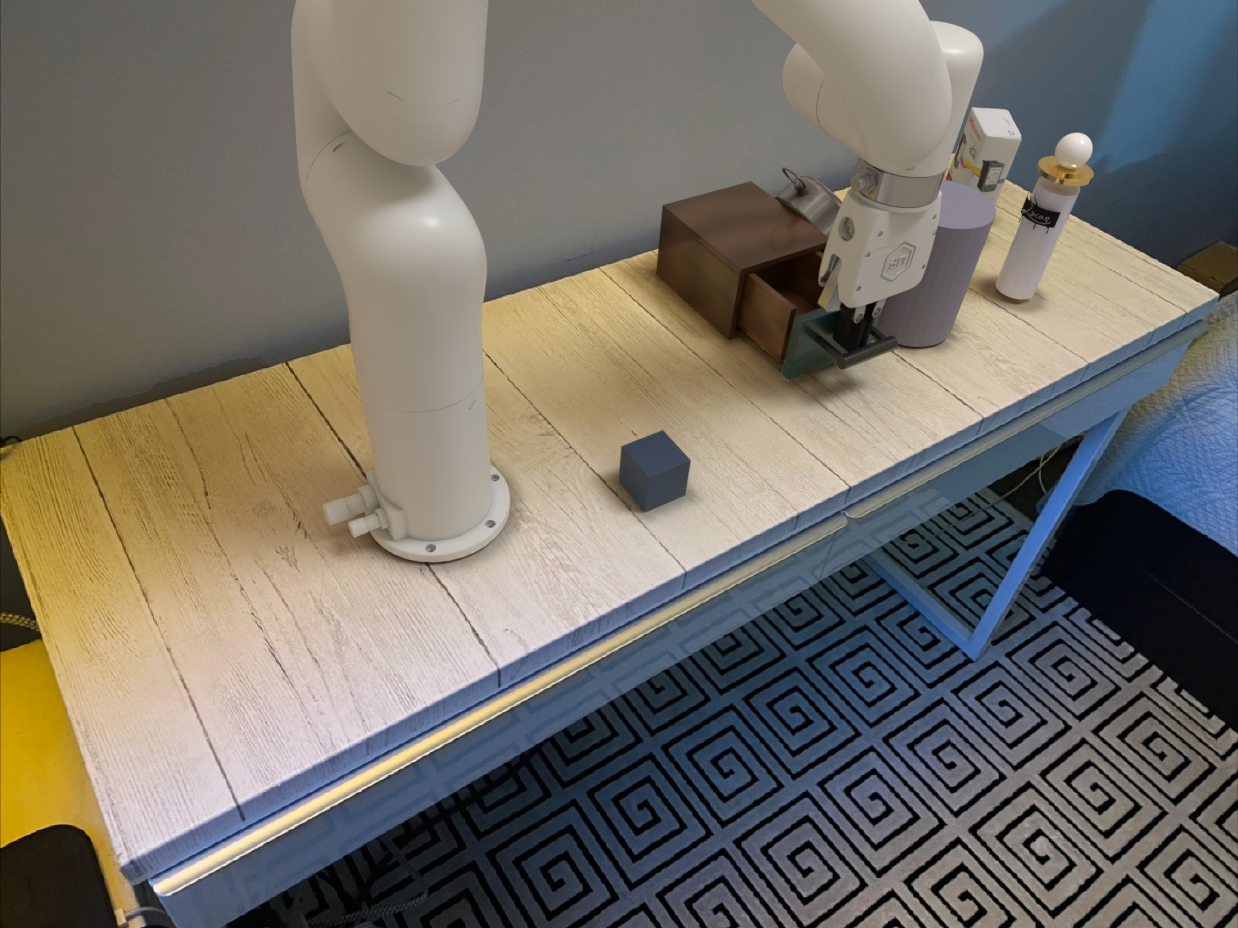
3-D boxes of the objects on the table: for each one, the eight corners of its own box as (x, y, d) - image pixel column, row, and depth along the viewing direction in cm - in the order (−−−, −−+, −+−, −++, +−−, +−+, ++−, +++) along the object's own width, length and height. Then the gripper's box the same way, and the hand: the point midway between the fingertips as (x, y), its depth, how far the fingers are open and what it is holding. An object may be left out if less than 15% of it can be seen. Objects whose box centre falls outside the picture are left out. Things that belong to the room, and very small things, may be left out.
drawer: (901, 374, 97) (921, 318, 91) (819, 408, 92) (835, 351, 87) (790, 286, 107) (802, 230, 102) (712, 312, 103) (720, 256, 98)
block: (644, 512, 82) (648, 477, 79) (618, 480, 85) (621, 445, 81) (685, 494, 84) (691, 460, 81) (658, 464, 86) (662, 429, 83)
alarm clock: (794, 244, 116) (742, 166, 103) (825, 212, 115) (777, 130, 102) (850, 287, 109) (802, 210, 97) (883, 254, 109) (839, 172, 96)
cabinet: (815, 309, 106) (832, 239, 99) (728, 340, 101) (740, 269, 94) (739, 248, 114) (750, 180, 108) (655, 273, 109) (662, 204, 103)
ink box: (941, 187, 128) (968, 104, 120) (977, 190, 128) (1006, 107, 120) (954, 219, 122) (983, 134, 114) (992, 222, 122) (1024, 137, 114)
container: (841, 315, 105) (874, 196, 95) (896, 285, 110) (933, 169, 100) (914, 360, 100) (957, 239, 89) (968, 327, 105) (1015, 209, 94)
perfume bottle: (1004, 274, 113) (1069, 117, 99) (1046, 296, 110) (1119, 137, 96) (978, 290, 110) (1041, 130, 96) (1020, 313, 107) (1092, 152, 93)
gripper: (863, 215, 75) (815, 387, 88) (988, 178, 81) (926, 344, 94) (804, 175, 79) (767, 345, 92) (927, 143, 86) (876, 306, 98)
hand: (847, 344), depth 93 cm, fingers closed
